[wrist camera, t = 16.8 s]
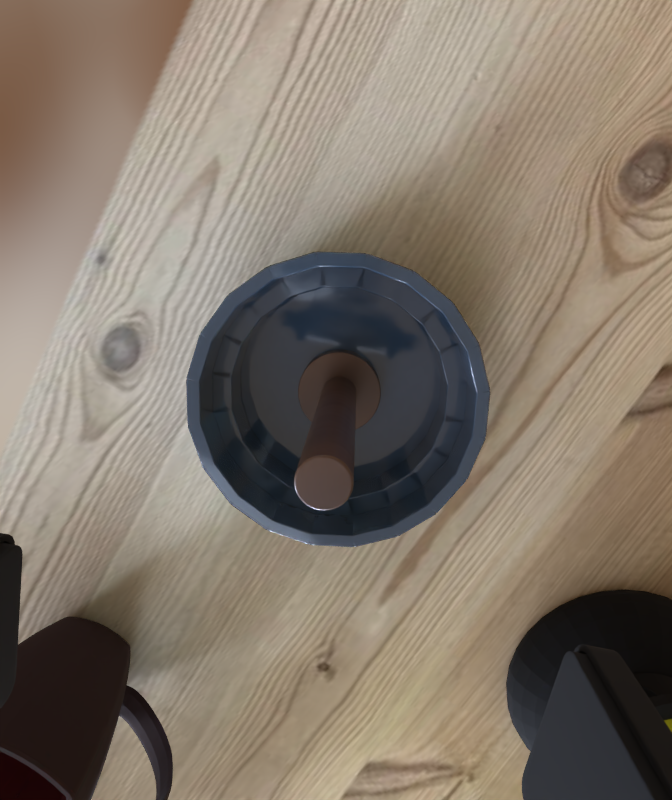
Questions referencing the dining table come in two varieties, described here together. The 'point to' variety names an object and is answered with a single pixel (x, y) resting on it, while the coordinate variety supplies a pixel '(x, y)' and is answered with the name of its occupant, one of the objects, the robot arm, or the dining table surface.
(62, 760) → the mug
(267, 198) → the dining table surface
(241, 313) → the bowl
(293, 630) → the dining table surface
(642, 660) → the lantern
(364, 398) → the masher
